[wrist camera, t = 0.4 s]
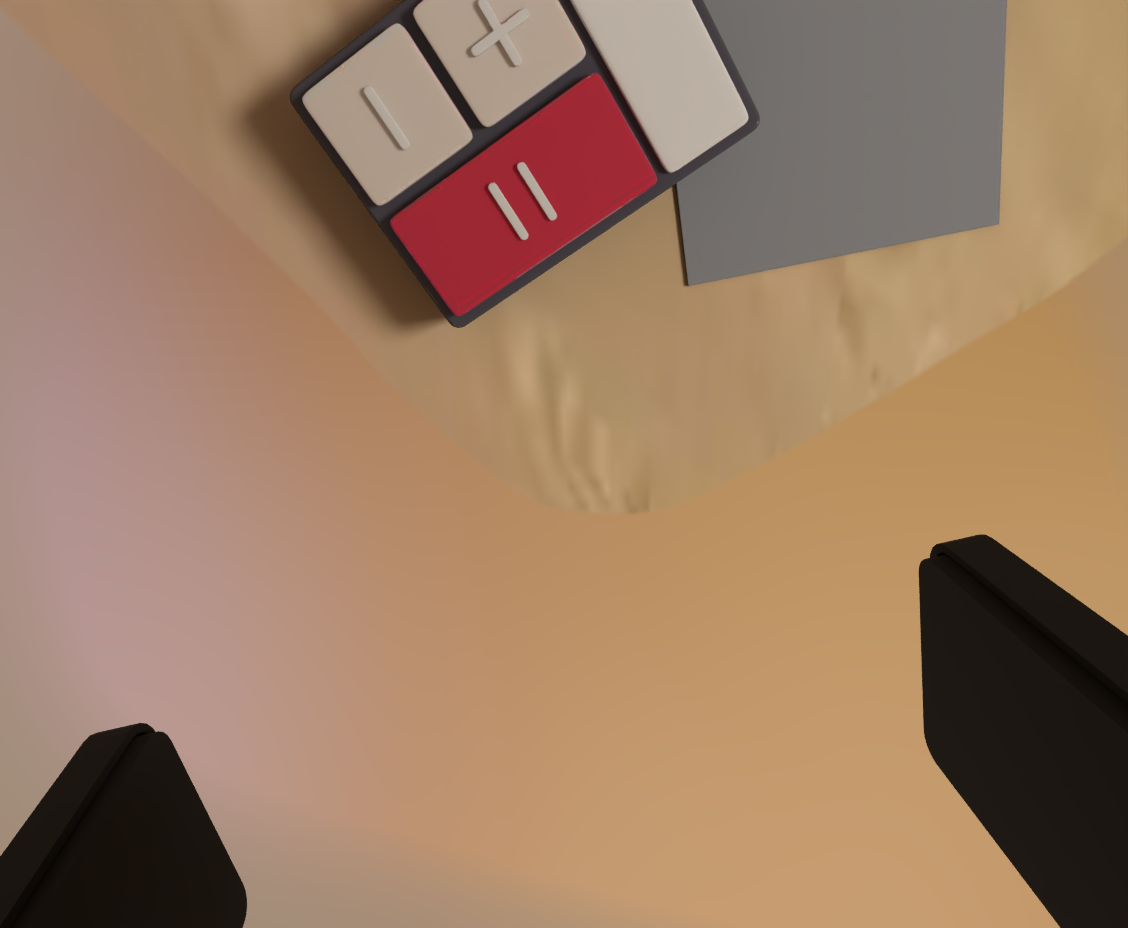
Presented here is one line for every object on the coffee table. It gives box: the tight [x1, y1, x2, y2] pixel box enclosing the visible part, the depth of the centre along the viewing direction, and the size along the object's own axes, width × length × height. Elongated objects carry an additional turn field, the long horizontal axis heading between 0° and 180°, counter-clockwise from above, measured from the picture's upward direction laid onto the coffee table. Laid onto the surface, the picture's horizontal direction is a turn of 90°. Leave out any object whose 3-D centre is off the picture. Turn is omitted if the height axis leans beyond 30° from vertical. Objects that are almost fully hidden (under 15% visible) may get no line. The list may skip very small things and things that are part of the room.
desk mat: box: [676, 0, 1007, 286], centre depth 32 cm, size 16×15×1 cm
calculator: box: [290, 0, 760, 328], centre depth 30 cm, size 11×4×15 cm
